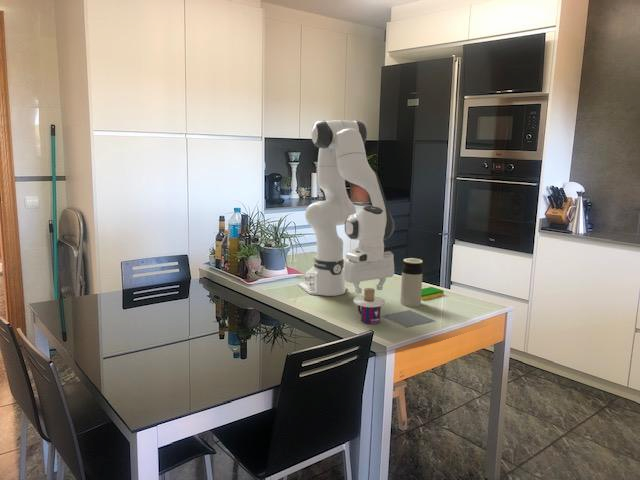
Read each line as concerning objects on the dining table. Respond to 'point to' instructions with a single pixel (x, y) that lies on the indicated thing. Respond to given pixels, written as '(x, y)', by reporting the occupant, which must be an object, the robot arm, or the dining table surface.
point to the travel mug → (411, 282)
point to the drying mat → (408, 318)
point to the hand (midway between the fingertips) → (369, 291)
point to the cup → (370, 314)
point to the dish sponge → (431, 293)
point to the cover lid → (369, 299)
